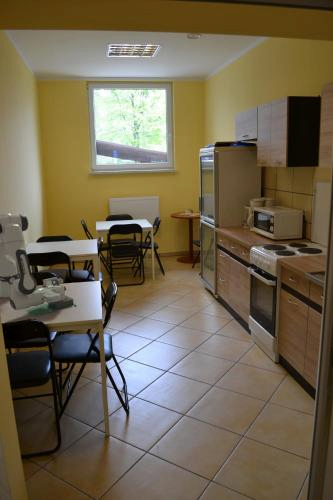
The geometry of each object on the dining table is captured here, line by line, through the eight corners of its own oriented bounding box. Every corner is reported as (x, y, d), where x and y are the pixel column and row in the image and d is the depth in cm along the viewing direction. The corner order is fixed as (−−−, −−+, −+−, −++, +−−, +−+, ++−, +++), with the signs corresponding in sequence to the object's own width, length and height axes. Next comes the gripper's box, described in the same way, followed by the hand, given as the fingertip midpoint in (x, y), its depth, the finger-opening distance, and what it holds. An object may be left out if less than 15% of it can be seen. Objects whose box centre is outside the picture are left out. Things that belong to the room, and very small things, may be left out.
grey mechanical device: (66, 278, 274) (49, 281, 268) (67, 291, 276) (51, 295, 270) (56, 272, 289) (41, 275, 282) (58, 285, 291) (42, 289, 284)
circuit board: (25, 311, 241) (25, 310, 240) (65, 300, 257) (65, 299, 257) (35, 318, 230) (35, 316, 229) (76, 306, 246) (76, 304, 246)
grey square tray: (48, 304, 248) (47, 299, 247) (65, 300, 255) (64, 294, 254) (56, 309, 239) (55, 303, 239) (73, 304, 246) (73, 299, 246)
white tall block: (56, 304, 247) (53, 280, 244) (62, 302, 250) (60, 278, 247) (59, 306, 244) (56, 281, 241) (65, 304, 247) (63, 279, 243)
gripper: (45, 296, 228) (67, 290, 237) (31, 288, 244) (52, 283, 252) (46, 306, 230) (68, 300, 238) (32, 298, 245) (53, 293, 254)
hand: (60, 291), depth 246 cm, fingers open, 8 cm apart
